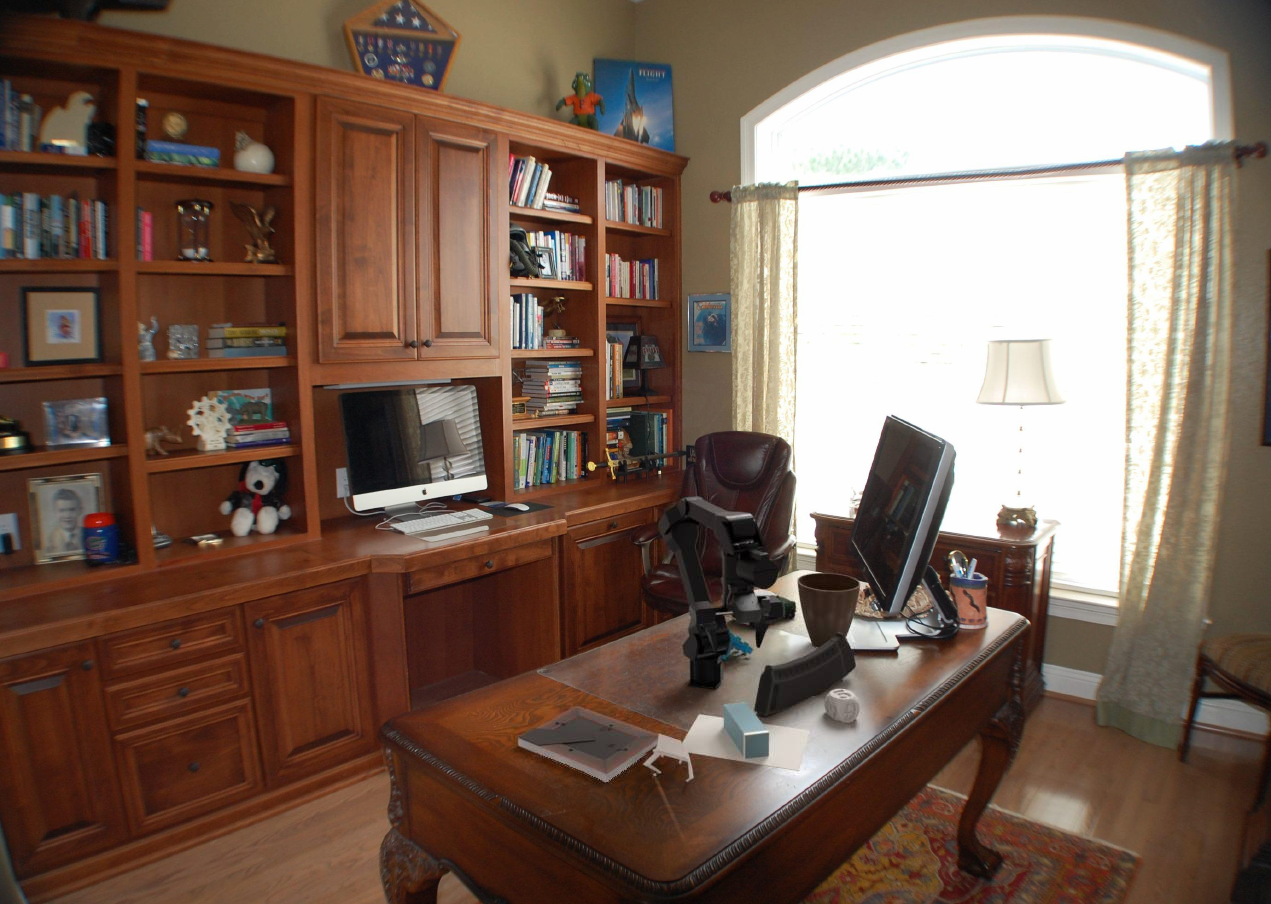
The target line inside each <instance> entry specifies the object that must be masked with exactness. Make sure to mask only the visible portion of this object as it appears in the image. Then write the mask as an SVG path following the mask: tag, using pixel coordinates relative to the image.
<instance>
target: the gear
mask: <svg viewBox="0 0 1271 904" xmlns="http://www.w3.org/2000/svg"><path fill="white" fill-rule="evenodd" d="M729 633H730V637H731V639H730V644H729V648H728V653H727V655H721V660H723V659H724V661H726V659H727V658H728V656H729V655H730V653H731V651H732V650H734V649H735V650H736V651H738V652H742V654H744V653H745V655H746V654H748V655H752V652H753V651H754V649H753V648H752V646H750V644H749V643H748V642H746V641H742V637H740V636H738V635H736V636H735V635H734V633H733V632H732V631H730V630H729Z"/></svg>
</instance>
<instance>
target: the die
mask: <svg viewBox="0 0 1271 904" xmlns="http://www.w3.org/2000/svg"><path fill="white" fill-rule="evenodd" d="M823 704H824V705H823V706H824V709H825V713H826V715H828V716H829V717H830V718H832V719H833V720H834V721H836V722H843V723H844V724H850V723H853V722H854V721H855V720H856V719H857V718H858V716H859V714H860V709H861V707H860V701H859V698H858V697H857V696H856V694H855V693H854V692H853V691H851V690H849V689H844V688H835V689H832V690H830V691H829V692H828V693H827V695H825V699H824V702H823ZM852 721H853V722H852Z"/></svg>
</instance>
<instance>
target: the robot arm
mask: <svg viewBox="0 0 1271 904" xmlns="http://www.w3.org/2000/svg"><path fill="white" fill-rule="evenodd" d="M678 500H679V501H677V503H676V504H675V505H673V506H672V507H671V508H669V509H667V510H666V511H665V512H664V513H663V515H662V516H661V518H660V519H659V521H658V524H657V526H658V531H659V533H660V535H661V536H662V539H663V542H664V544H665V546H667V548H669V549H670V550H671V551H672V552H673V553H674V555H675V556H674V557H675V559H676V563H677V565H678V569H679V573H680V577H681V581H682V584H683V585H682V586H683V589H684V591H685V595H686V598H687V602H688V606H689V607H688V616H689V617H690V620H689V624H688V628H687V630H688V631H687V632H688V637H687V638H686V639H685V641H684V642H683V644H682V645H681V646H682V651H683V656H685V657H686V658H688V659H689V680H688V682H687V685H688V686H691V687H700V688H706V689H713V690H715V689H717V688H718V687H719V685H720V684H721V683H722V681H723V679H724V661H723V660H722V656H723V655H727V653H728V648H729V644H730V639H731V637H730V633H729V631H730V629H729V628H728V627H729V626H728V624H727V619H726V615H728V616H729V614H734V616H735V618H736V622H737V623H738V624H741V625H746V624H745V623H747V622H755V629H754V630H755V637H754V638H755V639H754V640H755V646H756V648H757V649H760V648H761V645H762V643H763V641H764V639H765V636H766V632H767V630H768V629H769V626H770V625H771V624H772V623H774V622H775V621H778V620H779V619H780V618H779V617H780V616H784V615H785V606H784V603H782V602H781V601H780V600H779V599H778V598H776V597H775V596H774V595H769V596H768V595H761V596H759V595H755V593H754V590H755V589H754V587H755V588H758V589H762V590H768V589H770V588H772V587H773V586H774V585H775V583H776V582H777V580H778V577H779V569H778V568H777V567H778V566H777V565H776V563H775V562H774V561H772V560H770V554H769V553H768V552H763V551H766V550H767V547H766V544H765V542H766V541H765V539H764V537H763V534H762V533H761V530H760V529H759V525H758V523H757V521H756V519H755V517H754V516H753V514H751V513H750V512H744V511H728V510H725V509H724V508H722V507H719V506H718V505H715V504H713V503H711V502H709V501H706V500H704V498H703V497H701V496H698V495H697V496H687V497H683V498H681V499H678ZM701 525H703V526H705V527H707V528H709V529H711V530H713V531H714V537H715V538H716V539H717V540H718V541H720V544H719V545H718V546H717V549H718V550H719V551H722V577H720V582H721V584H722V596H720V602H721V603H722V605H713V604H712V600H711V596H710V593H709V589H708V586H707V583H706V580H705V576H704V573H703V568H702V565H701V561H700V558H699V555H698V551H697V548H696V545H697V542H698V538H699V535H700V533H699V529H698V528H699V527H700V526H701ZM778 618H779V619H778Z"/></svg>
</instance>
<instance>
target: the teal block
mask: <svg viewBox="0 0 1271 904" xmlns="http://www.w3.org/2000/svg"><path fill="white" fill-rule="evenodd" d="M723 718H724V728H725V729H726V731H727V732H728V734H729V735H730V737H731V738H732V740H733V741H734V743H735V744H736V746H737V748H738V749H739V751H740V752H741V754H742V755H743V757H744V758H745V759H750V758H758V757H766V756H769V731H768V730H767V729H766V728H765V726H764V725H763V724H764V723H763V722H762V720H760V718H759V717H758V715H756V713H755V711H754V710H752V708H751V707H750V706H749V704H748V703H747V701H742V702H733V703H724V704H723Z"/></svg>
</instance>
